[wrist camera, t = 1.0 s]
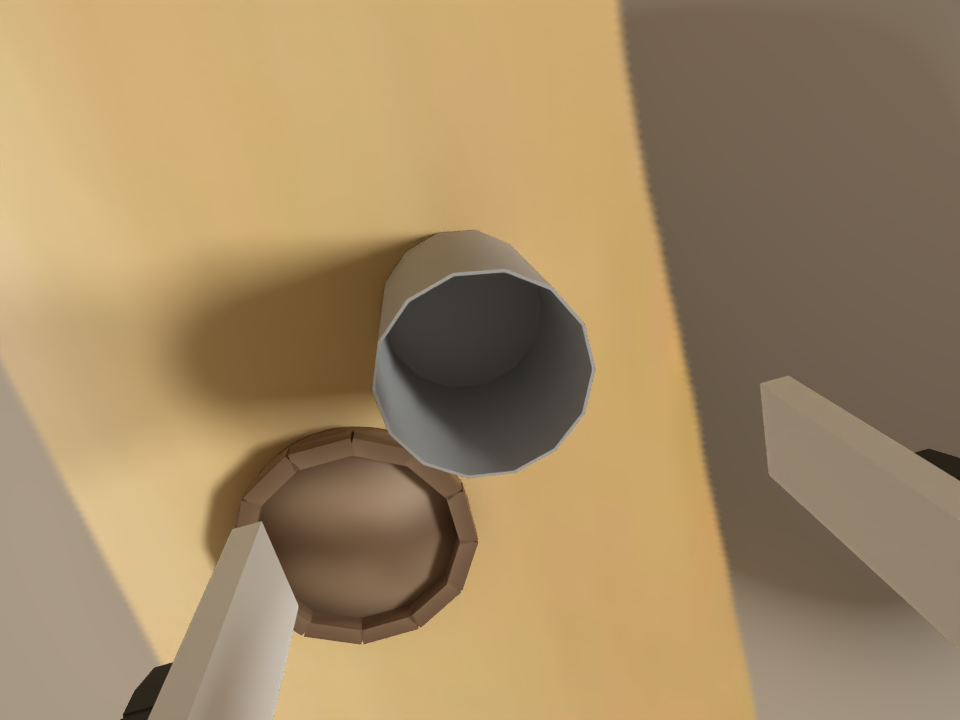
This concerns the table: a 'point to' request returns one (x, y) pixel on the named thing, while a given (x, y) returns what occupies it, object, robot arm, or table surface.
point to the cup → (478, 357)
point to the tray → (363, 533)
